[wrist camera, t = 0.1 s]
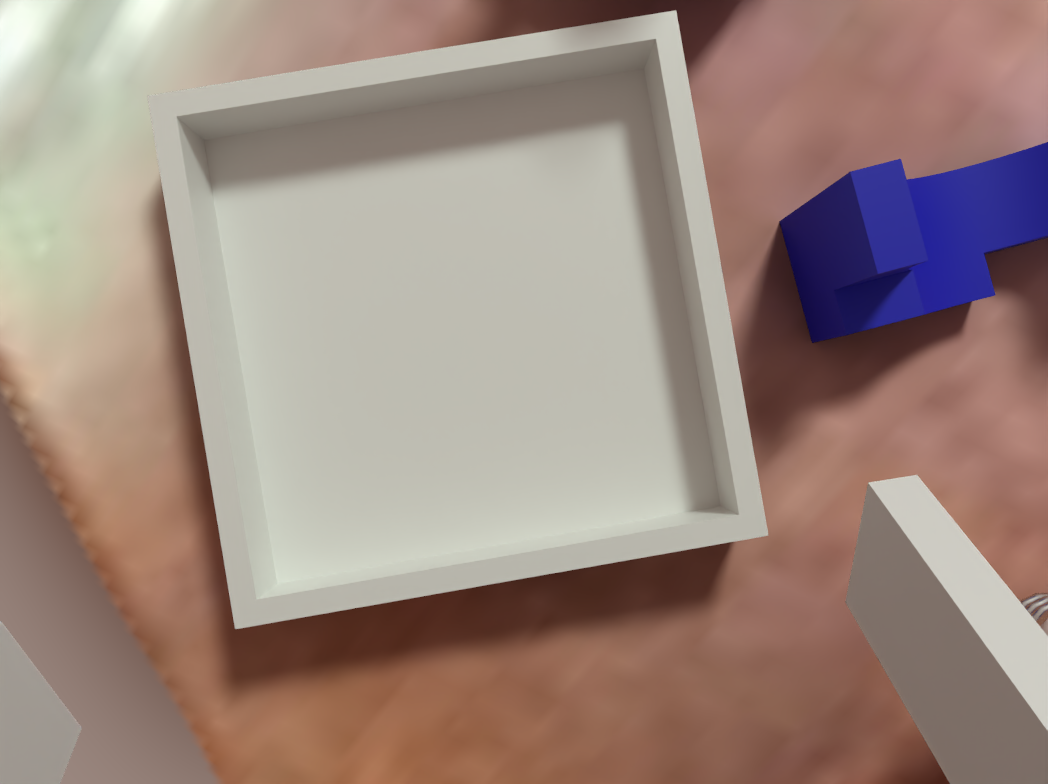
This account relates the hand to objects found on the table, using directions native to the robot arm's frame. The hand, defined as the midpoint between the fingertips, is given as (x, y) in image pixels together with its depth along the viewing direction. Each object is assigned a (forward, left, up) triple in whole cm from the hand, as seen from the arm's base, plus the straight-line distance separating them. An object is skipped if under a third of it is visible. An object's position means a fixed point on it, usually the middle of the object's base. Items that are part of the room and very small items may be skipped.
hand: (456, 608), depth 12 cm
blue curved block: (+6, -18, -16) cm, 25 cm away
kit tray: (+6, 0, -15) cm, 16 cm away
